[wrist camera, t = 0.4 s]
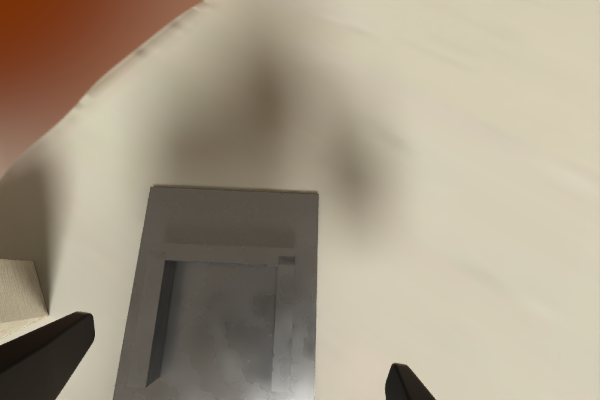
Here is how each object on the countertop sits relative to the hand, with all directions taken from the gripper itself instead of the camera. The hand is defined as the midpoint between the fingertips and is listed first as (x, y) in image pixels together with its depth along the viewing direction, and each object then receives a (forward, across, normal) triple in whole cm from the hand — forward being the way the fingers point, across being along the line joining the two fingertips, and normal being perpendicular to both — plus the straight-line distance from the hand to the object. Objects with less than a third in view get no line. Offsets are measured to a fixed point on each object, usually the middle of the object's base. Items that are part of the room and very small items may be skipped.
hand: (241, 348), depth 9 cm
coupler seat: (+12, +4, +8) cm, 15 cm away
